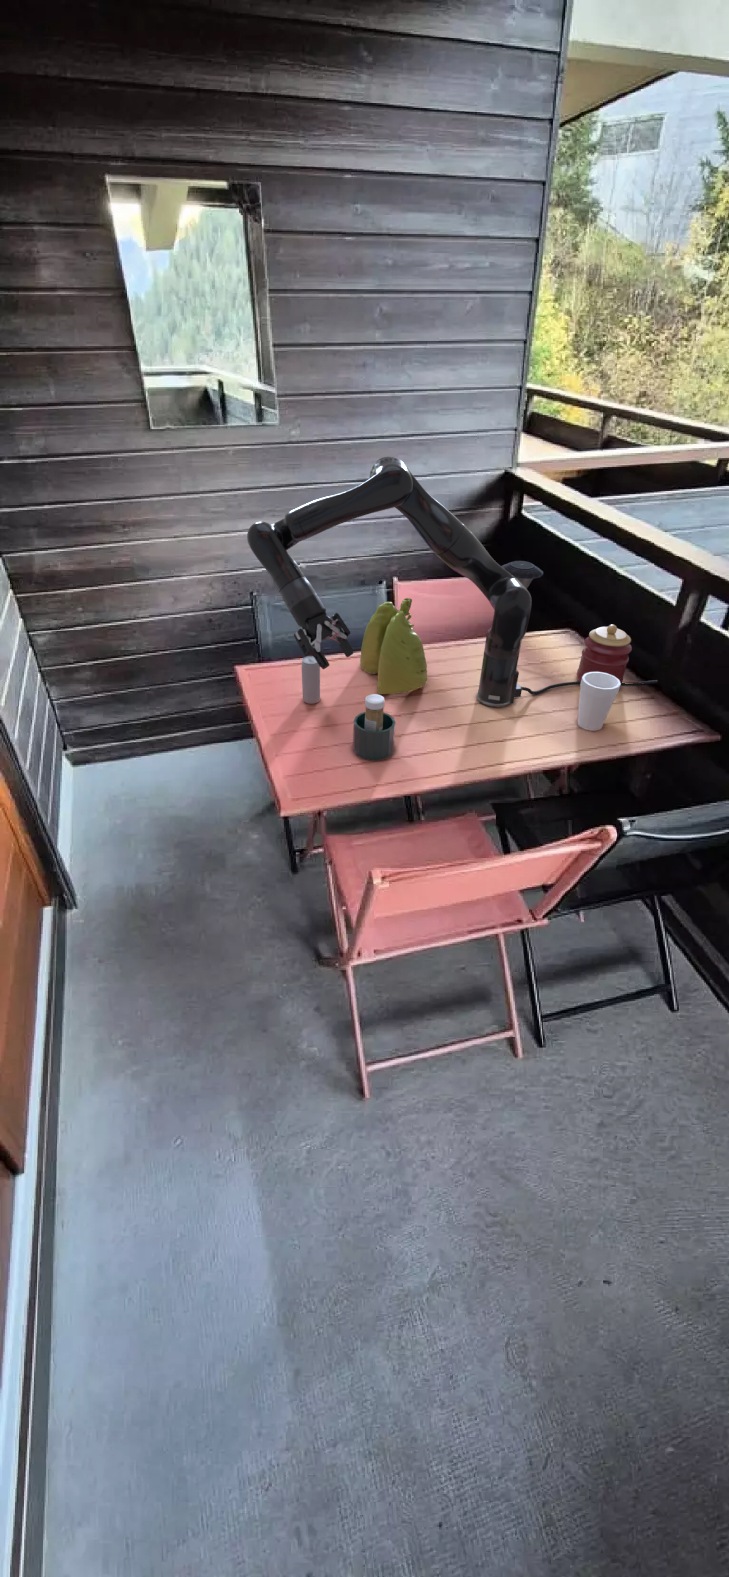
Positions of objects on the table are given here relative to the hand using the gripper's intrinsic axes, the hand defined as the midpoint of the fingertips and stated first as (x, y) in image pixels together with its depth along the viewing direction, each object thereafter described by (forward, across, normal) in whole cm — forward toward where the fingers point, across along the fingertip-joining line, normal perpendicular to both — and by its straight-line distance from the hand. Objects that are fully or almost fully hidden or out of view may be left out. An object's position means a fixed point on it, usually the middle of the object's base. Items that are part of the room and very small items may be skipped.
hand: (338, 661), depth 165 cm
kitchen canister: (+41, +72, -13) cm, 83 cm away
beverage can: (+3, +7, +25) cm, 26 cm away
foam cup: (+47, +48, -19) cm, 69 cm away
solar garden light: (+23, +64, +6) cm, 68 cm away
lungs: (+9, +33, +19) cm, 39 cm away
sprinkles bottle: (+22, 0, +5) cm, 22 cm away
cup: (+22, 0, +5) cm, 23 cm away
